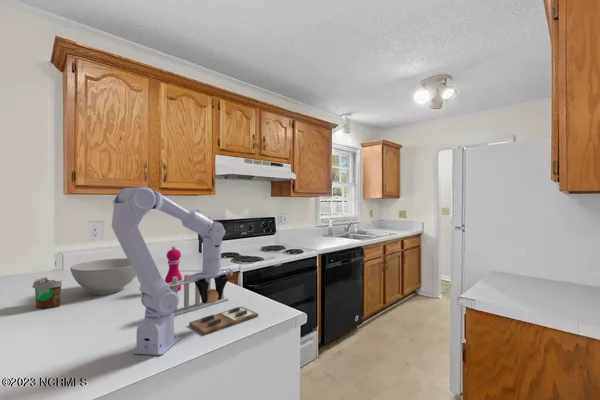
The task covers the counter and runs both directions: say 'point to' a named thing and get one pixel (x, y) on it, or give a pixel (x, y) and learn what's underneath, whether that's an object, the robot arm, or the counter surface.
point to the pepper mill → (173, 266)
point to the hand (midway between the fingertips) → (211, 300)
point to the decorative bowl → (104, 275)
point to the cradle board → (222, 320)
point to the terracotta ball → (212, 296)
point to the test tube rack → (186, 296)
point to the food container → (47, 293)
